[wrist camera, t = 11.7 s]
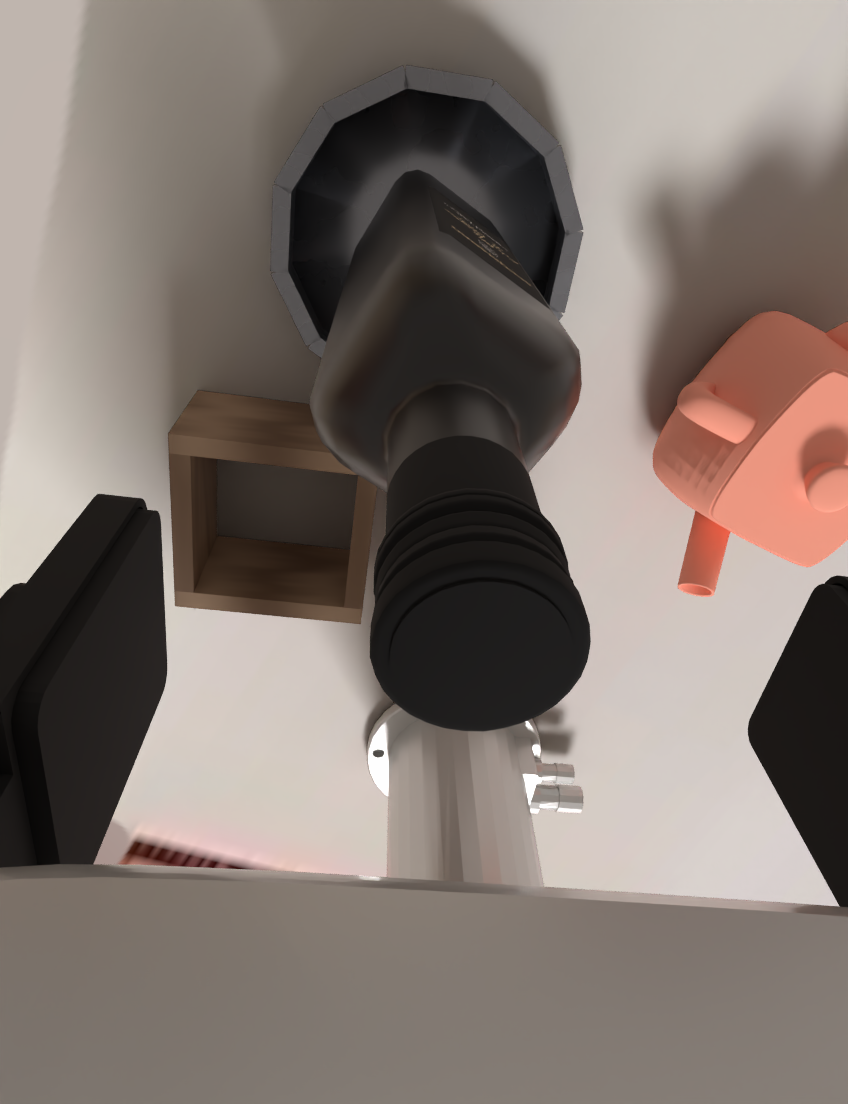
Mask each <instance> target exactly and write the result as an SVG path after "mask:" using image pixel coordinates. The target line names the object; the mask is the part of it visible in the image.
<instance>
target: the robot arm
mask: <svg viewBox="0 0 848 1104" xmlns="http://www.w3.org/2000/svg"><path fill="white" fill-rule="evenodd" d="M166 677H167V649H166V627H165V605H164V583H163V561H162V539H161V520H160V515H159V513H158V511H153V510H147V507H146V503H145V501H144V500H143V499H141V498H132V497H123V496H114V495H105V494H97V495H96V496H95V497H94V498H93V499H92V501H91V502H90V503H89V504H88V506H87V507H86V508H85V509H84V511H83V512H82V513H81V515H80V516H79V517H78V518H77V520H76V521H75V522H74V523H73V525H72V526H71V527H70V528H69V530H68V531H67V532H66V534H65V535H64V536H63V537H62V539H61V540H60V541H59V542H58V544H57V545H56V546H55V548H54V549H53V550H52V551H51V553H50V554H49V555H48V556H47V558H46V559H45V560H44V561H43V563H42V564H41V565H40V567H39V568H38V569H37V570H36V572H35V573H34V574H33V575H32V577H31V578H30V579H29V580H28V582H27V583H19V584H15V585H13V586H12V587H11V588H10V589H8V590H7V591H6V592H5V594H4V595H3V596H2V597H1V598H0V1104H848V577H845V576H834V577H831V578H830V579H829V580H827V581H826V582H825V584H821V585H818V586H817V587H816V588H815V589H814V590H813V592H812V594H811V596H810V598H809V600H808V602H807V604H806V606H805V608H804V610H803V612H802V614H801V616H800V618H799V620H798V622H797V624H796V626H795V628H794V630H793V632H792V634H791V636H790V638H789V640H788V642H787V644H786V646H785V648H784V651H783V653H782V655H781V657H780V659H779V661H778V663H777V665H776V667H775V669H774V671H773V673H772V675H771V677H770V679H769V681H768V683H767V685H766V687H765V689H764V691H763V693H762V695H761V697H760V699H759V701H758V703H757V705H756V707H755V710H754V712H753V714H752V716H751V718H750V721H749V725H748V736H749V741H750V743H751V746H752V748H753V749H754V751H755V753H756V755H757V757H758V758H759V760H760V762H761V764H762V766H763V768H764V769H765V771H766V773H767V775H768V777H769V779H770V780H771V782H772V784H773V786H774V788H775V789H776V791H777V793H778V795H779V797H780V799H781V800H782V802H783V804H784V806H785V808H786V809H787V811H788V813H789V815H790V817H791V819H792V820H793V822H794V824H795V826H796V828H797V829H798V831H799V833H800V835H801V837H802V839H803V840H804V842H805V844H806V846H807V848H808V849H809V851H810V853H811V855H812V857H813V859H814V860H815V862H816V864H817V866H818V868H819V870H820V871H821V873H822V875H823V877H824V879H825V880H826V882H827V884H828V886H829V888H830V890H831V891H832V893H833V895H834V897H835V899H836V900H837V902H838V904H839V906H840V907H837V906H823V905H809V904H795V903H781V902H766V901H751V900H737V899H722V898H707V897H692V896H677V895H662V894H646V893H631V892H616V891H600V890H585V889H569V888H554V887H544V883H543V877H542V872H541V866H540V861H539V855H538V850H537V844H536V839H535V833H534V828H533V822H532V817H531V814H534V815H536V814H538V811H539V809H542V810H554V811H555V812H564V813H577V814H579V813H581V811H582V808H583V792H582V789H581V787H580V786H573V785H560V784H573V782H574V773H575V772H574V767H573V765H570V764H557V763H554V764H546V763H542V762H541V760H540V759H541V745H540V739H539V734H538V731H537V728H536V725H535V723H534V721H533V720H532V719H530V720H528V721H526V722H524V723H521V724H517V725H514V726H510V727H506V728H502V729H496V730H490V731H484V732H481V731H460V730H453V729H446V728H442V727H439V726H435V725H432V724H429V723H426V722H424V721H422V720H420V719H418V718H416V717H414V716H412V715H410V714H408V713H407V712H406V711H404V710H403V709H402V708H400V707H399V706H398V705H397V704H394V705H392V706H391V707H390V708H389V709H388V710H386V711H385V712H384V713H383V714H382V716H381V717H380V718H379V719H378V720H377V722H376V723H375V725H374V727H373V729H372V731H371V733H370V736H369V741H368V745H367V763H368V769H369V773H370V775H371V777H372V779H373V781H374V783H375V784H376V785H377V786H378V788H379V789H380V790H381V791H382V792H383V793H384V794H385V795H386V796H387V797H388V831H387V877H373V876H357V875H340V874H324V873H307V872H289V871H267V870H244V869H221V868H199V867H176V866H153V865H93V863H94V861H95V858H96V856H97V854H98V851H99V848H100V846H101V844H102V841H103V839H104V836H105V834H106V831H107V829H108V827H109V824H110V822H111V819H112V817H113V814H114V812H115V809H116V807H117V804H118V802H119V800H120V797H121V795H122V792H123V790H124V787H125V785H126V782H127V780H128V777H129V775H130V773H131V770H132V768H133V765H134V763H135V760H136V758H137V755H138V753H139V750H140V748H141V745H142V743H143V741H144V738H145V736H146V733H147V731H148V728H149V726H150V723H151V721H152V718H153V716H154V714H155V711H156V709H157V706H158V704H159V701H160V699H161V696H162V694H163V691H164V687H165V683H166ZM541 781H546V782H553V783H559V784H555V786H554V785H541V784H540V783H541Z"/></svg>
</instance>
